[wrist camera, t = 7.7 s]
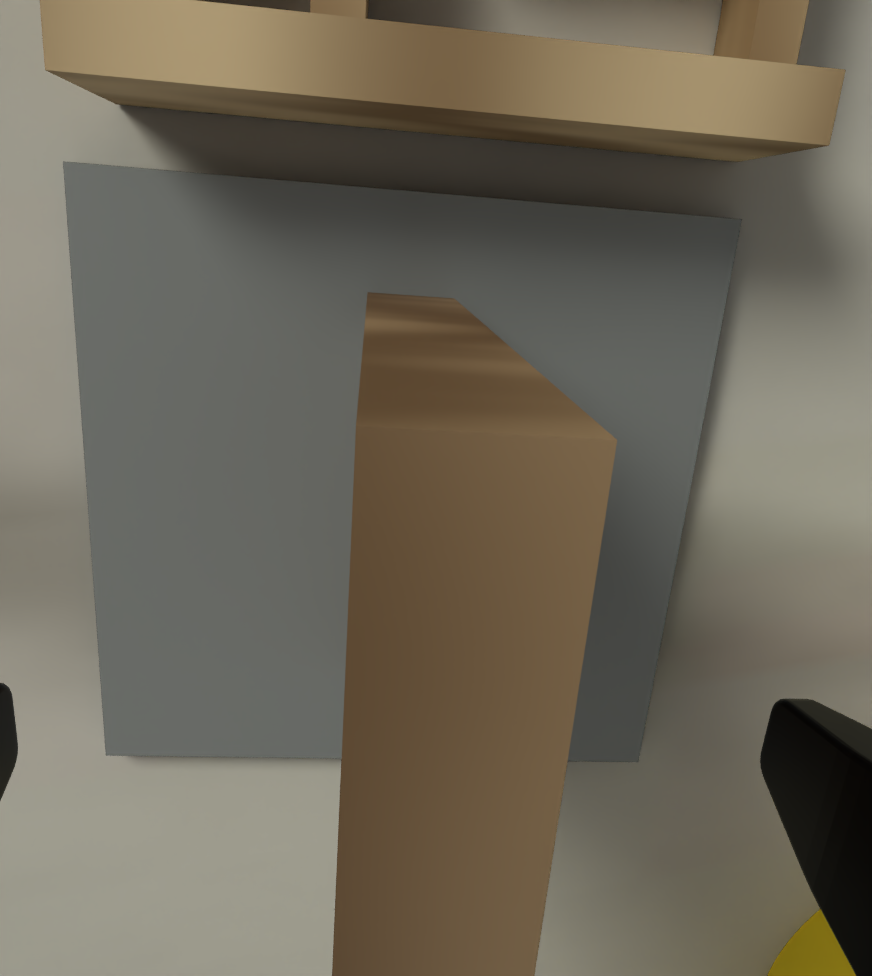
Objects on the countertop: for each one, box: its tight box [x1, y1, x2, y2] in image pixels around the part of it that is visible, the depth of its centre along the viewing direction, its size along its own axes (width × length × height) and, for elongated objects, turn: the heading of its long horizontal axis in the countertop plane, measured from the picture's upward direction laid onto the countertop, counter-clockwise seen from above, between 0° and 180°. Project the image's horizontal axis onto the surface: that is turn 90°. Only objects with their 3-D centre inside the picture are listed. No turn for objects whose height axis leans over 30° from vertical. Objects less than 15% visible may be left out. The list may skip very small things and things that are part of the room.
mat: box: [63, 161, 742, 762], centre depth 16 cm, size 12×12×1 cm
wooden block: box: [332, 292, 617, 976], centre depth 11 cm, size 2×8×10 cm, turn 176°
